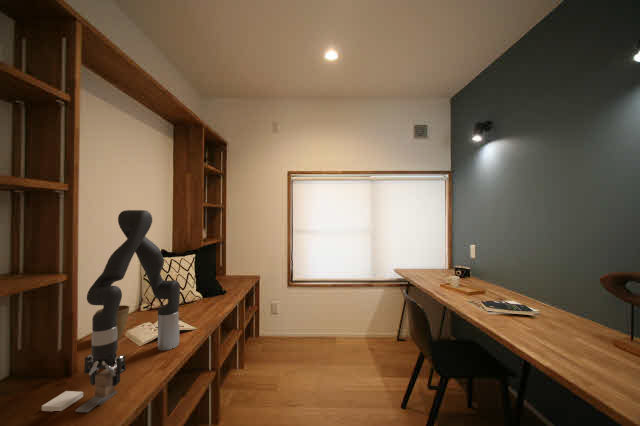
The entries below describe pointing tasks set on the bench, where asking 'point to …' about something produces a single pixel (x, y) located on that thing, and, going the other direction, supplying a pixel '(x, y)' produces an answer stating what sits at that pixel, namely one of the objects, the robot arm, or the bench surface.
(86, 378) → the bench surface
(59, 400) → the slab tile
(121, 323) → the plant pot
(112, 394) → the mat
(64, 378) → the bench surface
